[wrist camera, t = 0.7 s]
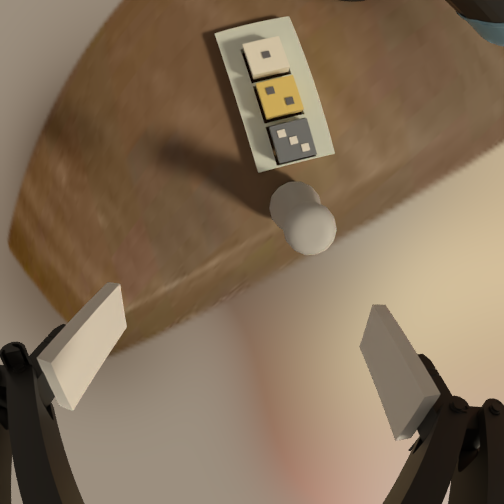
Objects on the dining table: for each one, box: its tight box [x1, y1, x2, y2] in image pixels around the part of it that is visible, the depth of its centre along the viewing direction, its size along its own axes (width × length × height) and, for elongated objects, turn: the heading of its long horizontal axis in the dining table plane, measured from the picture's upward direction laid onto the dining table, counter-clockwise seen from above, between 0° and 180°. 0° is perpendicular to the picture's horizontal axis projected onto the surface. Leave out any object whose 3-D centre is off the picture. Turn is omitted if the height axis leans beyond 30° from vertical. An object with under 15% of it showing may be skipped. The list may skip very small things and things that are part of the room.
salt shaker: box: [269, 182, 337, 255], centre depth 28 cm, size 6×6×13 cm
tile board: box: [214, 16, 335, 173], centre depth 29 cm, size 18×9×2 cm, turn 16°
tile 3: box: [269, 118, 317, 163], centre depth 29 cm, size 4×4×2 cm
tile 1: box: [243, 36, 290, 80], centre depth 26 cm, size 4×4×2 cm
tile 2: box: [256, 75, 304, 120], centre depth 28 cm, size 4×4×2 cm
